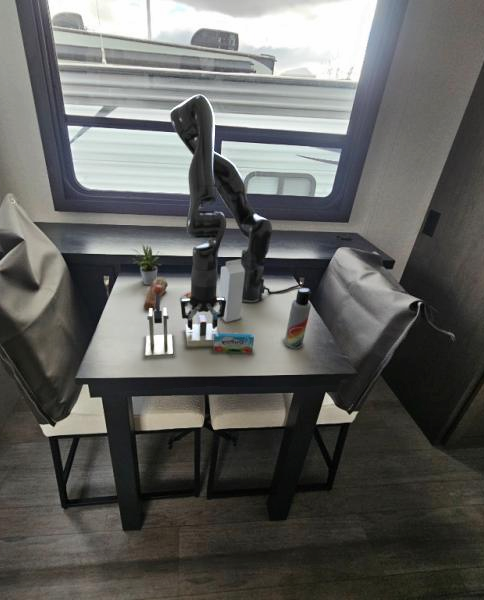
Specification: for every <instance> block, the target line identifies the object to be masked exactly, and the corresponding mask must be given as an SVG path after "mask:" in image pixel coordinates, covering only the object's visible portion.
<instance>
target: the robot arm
mask: <svg viewBox="0 0 484 600" xmlns="http://www.w3.org/2000/svg"><path fill="white" fill-rule="evenodd" d="M169 116H170V121H171V124H172V128H173V130H174V131H175V132H176V134H177V136H178V137H179V139H180V140H181V141H182V143H183V144H184V146H186V148H187V149H188V150H189V152H190V153H191V155H192V159H191V161H190V165H189V168H188V175H187V177H188V179H187V181H188V189H189V190H188V191H189V209H188V212H187V219H186V224H185V227H186V228H185V229H186V232H187V234H188V235H189V236H190V237H191V238H193V239H208V240H207V241H206V242H203V243H200V244H199V243H198V244H196V245H195V246H194V247H193V248H192V259H191V260H192V264H191V265H192V267H191V273H190V282H191V283H190V292H191V297H190V298H189V299H187V298H184V297H181V298H180V311H181V318H182V319H183V320H187V325H188V328H190V330H192V324H194V323H193V320H194V319H193V318H194V316H196V315H197V313H202V312H206V313H209V312H210V314H211V316H212V319H211V321H212V322H211V324H212V327H213V329H215V327H217V328H218V322H219V318H221V317H224V313H225V307H226V300H225V297H222V298H219V297H218V296H217V288H218V287H217V286H218V258H219V250H220V247H221V244H222V241H223V238H224V237H225V233H226V230H227V219H226V216H225V214H224V213H223V212H221V211H219V210H200V209H203V208H206V207H209V206H211V205H214V204H215V203H216V200H217V194H218V196H219V197H220V198H221V200H222V201H223V203H224V205H225V206H226V208H227V209H228V210H229V212H230V213H231V215H232V216H233V218H234V220H235V223H236V225H237V227H238V229H239V231H240V233H241V235H243V237H245V239H248V246H247V247H245V248H243V249H242V251H241V253H240V254H241V255H240V259H241V265H242V267H243V268H244V270H245V276H244V285H243V294H242V302H244V303H249V304H251V303H252V304H253V303H257V302H259V301H262V298H263V294H265V291H267V293H268V294H270V295H271V294H280V293H284V292H287V291H290V290H293V289H296V288H299V287H302V288H307V285H305V284H304V283H299V284H297V285H293V286H290V287H288V288H284V289H281V290H276V291H270V288H268V287H266V286H265V284H264V283H265V279H264V271H265V270H264V269H265V263H266V257H267V256H268V255H267V254H268V253H269V250H270V245H271V240H272V235H273V225H272V222H271V221H270V220H269V219H267V218H265V217H263V216H261V215H258V214H257V213H256V211H255V210H254V208H252V206H251V204H250V203H249V201H248V198H247V190H246V185H245V182H244V179H243V177H242V175H241V173H240V171H239V170H238V168H237V167H236V165H235V164H234V163H233V162H232V161H231V160H230V159H228V158H227V157H225V156H224V155H221V154H219V153H217V152H215V151H214V150H215V131H216V130H215V129H216V126H215V125H216V122H215V121H216V120H215V114H214V110H213V107H212V105H211V103H210V102H209V100H208V99H207V97H206V96H204V95H202V94H196V95H193V96H191V97H189V98H188V99H186V100H185V101H182V103H180V104H178V105H177V106H175V107H173V109H171V111H170V115H169ZM189 303H190V304H189ZM216 303H217V304H218V306H219V305H220V308H219V312H218V311H216V309H215V306H216V305H217V304H216ZM188 305H191V307H190V309H189V311H188V312H186V308H187V307H188Z"/></svg>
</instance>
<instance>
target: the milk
mask: <svg viewBox="0 0 484 600" xmlns="http://www.w3.org/2000/svg"><path fill="white" fill-rule="evenodd" d="M244 276H245V270H244V268H243V267H242V265H241V258H239V259H234V260H227V261H225V265H223V266H221V267H220V276H219V277H220V279H219V293H218V298H222V297H225V300H226V307H225V313H224V317H220V318H221V319H222V320H223V321H224V322H225V323H229V322H232V321H237V320H240V319H241V314H242V313H241V312H242V302H243V301H242V294H243V285H244ZM219 308H220V305H219V304H218V308H217V312H219Z"/></svg>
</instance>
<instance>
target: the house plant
mask: <svg viewBox="0 0 484 600" xmlns="http://www.w3.org/2000/svg"><path fill="white" fill-rule="evenodd" d="M141 246H142V249H143V254H144V256H142V255H141V254H140V253H139V252H138V251H137V250H136V249H133V248H131V250H133V251H134V252H136V253H138V254H139V255H137V257H138V258H139V259H141V261H140V260H137V259H135V258H133V260H134V262H133V265H134V264H137V263H138V266H139V270H140V275H141V278H142V282H143V284H144V285H147V286H151V284H152V282H153V280H155V279H157V275H158V267H157V266H162V263H158V261H156V260H158V259H159V258H160V256H158V255H159V252H157V253H156V254H155V256H154V257H153V249H152V246H149V245H146V246H145V245H144V244H143V243H141ZM162 254H163V252H161V253H160V255H162Z"/></svg>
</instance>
